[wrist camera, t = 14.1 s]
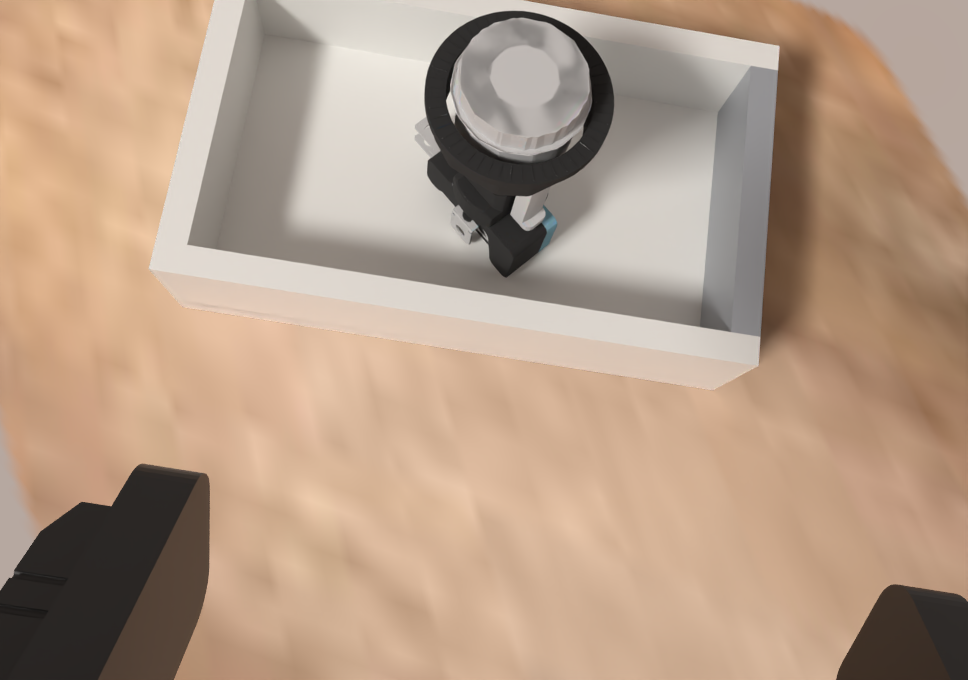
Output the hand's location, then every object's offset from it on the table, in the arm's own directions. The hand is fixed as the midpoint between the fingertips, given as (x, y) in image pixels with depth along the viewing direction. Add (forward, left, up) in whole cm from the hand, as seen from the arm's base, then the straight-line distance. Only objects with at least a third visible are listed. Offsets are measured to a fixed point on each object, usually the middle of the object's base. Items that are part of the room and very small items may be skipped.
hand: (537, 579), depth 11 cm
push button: (+1, -13, -21) cm, 25 cm away
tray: (+1, -14, -22) cm, 26 cm away
